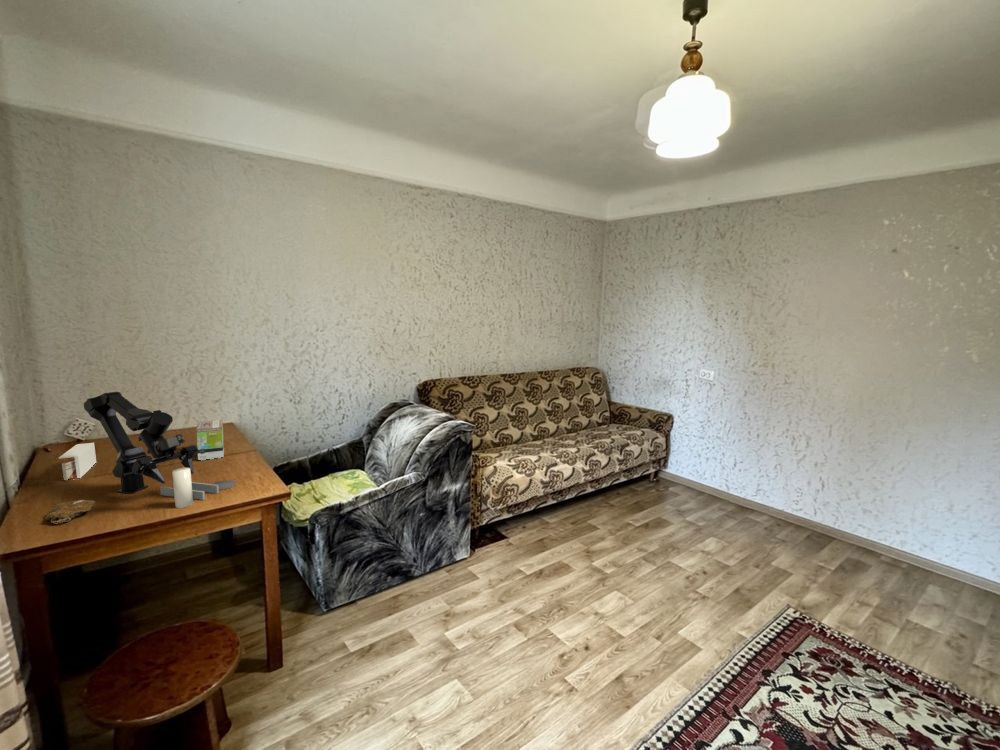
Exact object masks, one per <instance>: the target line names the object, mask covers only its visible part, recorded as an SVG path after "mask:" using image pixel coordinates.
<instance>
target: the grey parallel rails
mask: <svg viewBox="0 0 1000 750" xmlns="http://www.w3.org/2000/svg"><path fill="white" fill-rule="evenodd" d="M191 482H192V494H193V500H196V499H199V501H205V500H206V494H205V493H210V494H219V493H220V490H219V486H218V485H215V484H212V483H206V482H194V481H191ZM159 491H160V492H159V493H160V496H166V497H174V487H171V486H170V487H169V486H163V485H162V486H160V487H159ZM174 498H175V497H174Z"/></svg>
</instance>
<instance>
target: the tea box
mask: <svg viewBox="0 0 1000 750" xmlns="http://www.w3.org/2000/svg"><path fill="white" fill-rule="evenodd" d="M195 432H196V446H197V448H198V451H197V452H196V453H197V461H198V460H201V461H207V460H206V459H210V460H215V459H214V458H218V459H222V458H221V457H223V458H224V455H225V442H224V441H225V440H224V425H223V420H222V419H220V420H219V419H218V420H207V421H206V420H205V421H198V422H197V424H196V431H195Z"/></svg>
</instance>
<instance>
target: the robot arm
mask: <svg viewBox="0 0 1000 750" xmlns="http://www.w3.org/2000/svg"><path fill="white" fill-rule="evenodd" d="M83 408H84V411H86V413H88V415H89V417H90V418H92V419H95V420H97V421H98V422H100V424H101V426H102V428H103V429H104V431H105V433H106V435H107V437H108V439H109V440H110V442H111V444H112V446H113V448H114V449H115V450H116V453H117V456H116V459H115V463H116V465H115V467H114V468H113V470H112V473H113V477H116V478H119V479H120V485H121V488H120V489H118V490H117V491H116V492H117V493H123V494H133V493H137V492H139V491H141V490H144V489H146V488H149V486H148V485H146V484H145V481H144V479H145V478H144V476H146V477H149V478H151V479H153V480H155V481H157V482H159V483H161V484H165V482H166V481H165V478H164V477H163V475H162V474H161V472H160V471H159V469H158V468H157V464H160V463H165V462H169V461H172V460H175V459H179V461H180V463H181V465H182V466H183V468H190V470H191V475H193V474H194V472H195V471H194V466H193V458H194V456H195V455H196V454H197V453H198V452H197V451H198V448H197V444H189V445H185V446H183V447H181V449H180V451H178V452H176V451H177V450H178V447H180V446H182V444H183V443H185V442H186V439H185V437H184V436H183V434H182V433H179V434H176V435H173V437H169V438H166V437H165V436H164V434H165V433H166V432H167V431H168V429H169V427H170V426H171V424H172V423H173V419H174V418H173V416H172V415H170V414H169V413H168V412H163V411H162V410H160V409H157V410H153V411H150V410H148V409H143V408H139V407H138V406H136V405H135V404H134V403H132V402H131V401H129V399H127V398H126V397H124V396H123V395H122V393H121V392H120V391H111V392H109V391H108V392H105V393H102V394H100V395H98V396H95V397H89V398H87V399H86V401H85V402H83ZM116 413H118V414H119V415H120V416H121V417H122V418H124V419H125V425H126V426H127V427H128V429H129V430H130V431H132V432H137V431H138V432H139V431H141V432H140V433H139V436H138V437H137V438H138V442H143V444H144V446H145V447H146V449H147V450H146V452H145V450H144V448H143V447H142V446H135V445H134V444H133V443H132V441H131V439H130V437H129V436H128V434H127V431H126V430H125V429H124V427H123V425H122V424H121V421H120V420H119V418H118V416H117V414H116ZM149 454H151V456H149Z"/></svg>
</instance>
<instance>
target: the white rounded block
mask: <svg viewBox="0 0 1000 750" xmlns="http://www.w3.org/2000/svg"><path fill="white" fill-rule="evenodd" d="M171 474H172V483H173V484H172V485H173V488H174V506H175V507H174V508H176V509H184V507H185V508H188V506H189V507H191V506H192V504H194V499H193V494H192V482H193V481H192V474H191V470H190V468H185V467H179V468H175V469H173V470H172V473H171ZM190 505H191V506H190Z"/></svg>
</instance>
